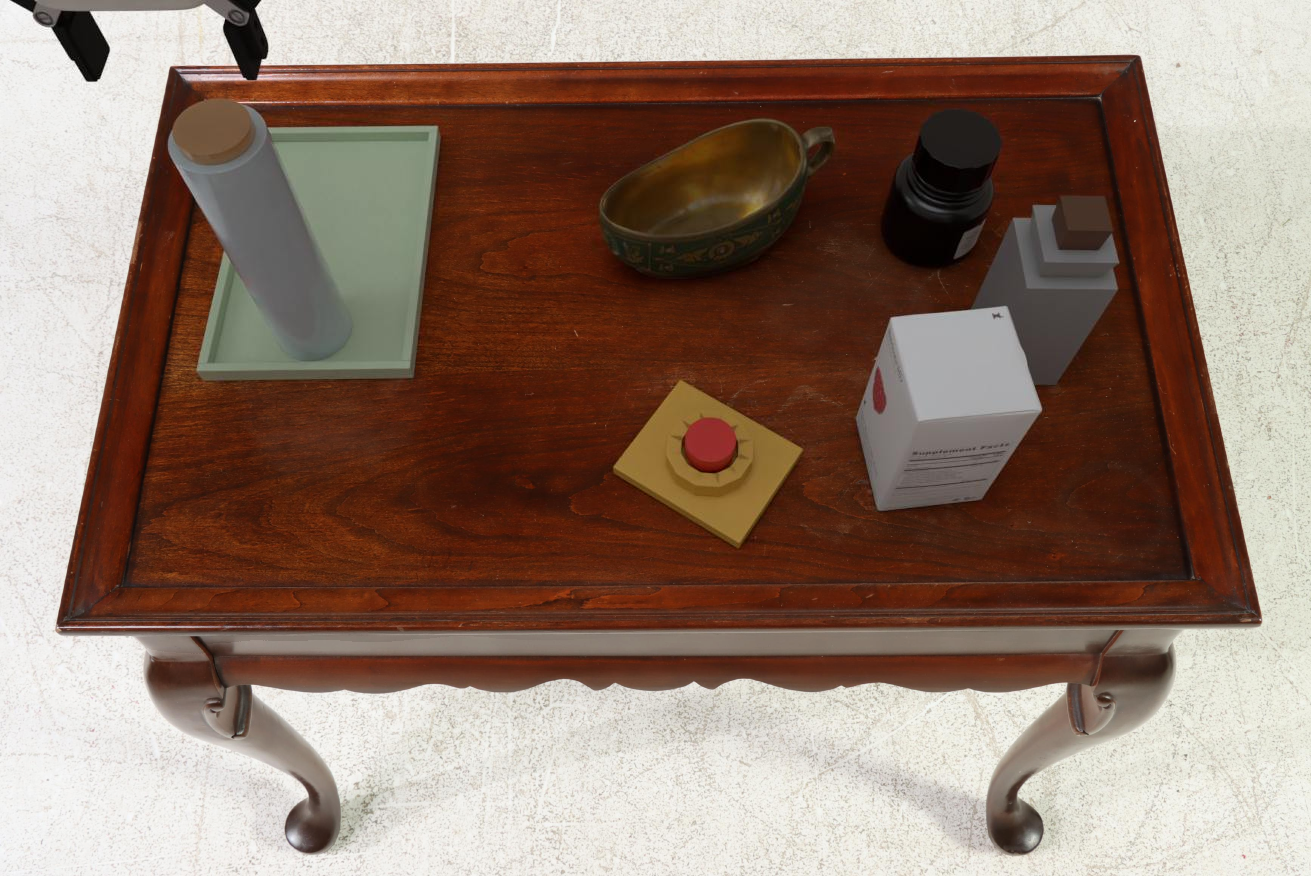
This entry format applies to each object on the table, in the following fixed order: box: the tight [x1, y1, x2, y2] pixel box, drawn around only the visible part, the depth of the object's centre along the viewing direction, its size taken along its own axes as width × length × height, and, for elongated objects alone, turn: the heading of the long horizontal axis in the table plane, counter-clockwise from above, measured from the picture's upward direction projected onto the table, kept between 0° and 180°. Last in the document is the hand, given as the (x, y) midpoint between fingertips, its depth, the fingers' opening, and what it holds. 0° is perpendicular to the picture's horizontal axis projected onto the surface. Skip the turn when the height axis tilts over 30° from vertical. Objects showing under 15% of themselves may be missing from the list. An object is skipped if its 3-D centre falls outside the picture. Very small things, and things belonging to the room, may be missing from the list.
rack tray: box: [196, 125, 442, 382], centre depth 94 cm, size 28×18×2 cm, turn 1°
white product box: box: [855, 306, 1043, 512], centre depth 78 cm, size 9×9×15 cm
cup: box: [598, 117, 836, 280], centre depth 91 cm, size 13×20×10 cm, turn 86°
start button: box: [685, 417, 736, 472], centre depth 81 cm, size 4×4×2 cm
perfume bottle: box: [970, 195, 1120, 386], centre depth 82 cm, size 7×7×18 cm
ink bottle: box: [880, 108, 1003, 267], centre depth 91 cm, size 10×9×12 cm
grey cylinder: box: [167, 97, 352, 361], centre depth 80 cm, size 7×7×24 cm
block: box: [612, 379, 804, 549], centre depth 83 cm, size 10×12×3 cm
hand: (177, 65), depth 64 cm, fingers open, 9 cm apart
